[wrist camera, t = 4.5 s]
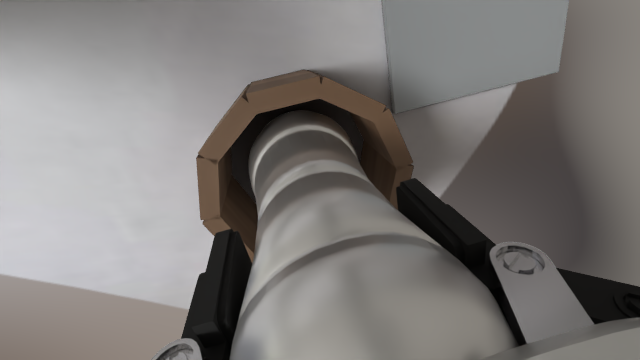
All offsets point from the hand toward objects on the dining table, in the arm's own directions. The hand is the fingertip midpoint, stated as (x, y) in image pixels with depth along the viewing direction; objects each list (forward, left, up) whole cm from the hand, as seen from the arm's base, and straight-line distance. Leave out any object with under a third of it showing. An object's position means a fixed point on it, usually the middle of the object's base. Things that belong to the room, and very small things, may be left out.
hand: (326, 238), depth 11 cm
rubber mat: (-7, +14, -11) cm, 19 cm away
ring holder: (+1, 0, -11) cm, 11 cm away
